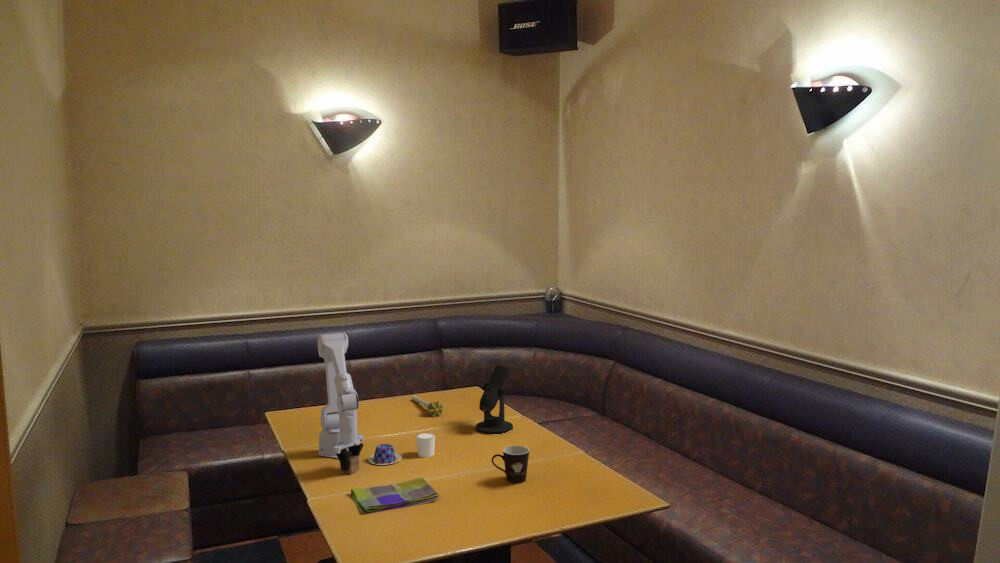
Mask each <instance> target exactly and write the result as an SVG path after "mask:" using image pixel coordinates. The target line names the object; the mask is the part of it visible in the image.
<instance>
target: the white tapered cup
mask: <svg viewBox="0 0 1000 563" xmlns="http://www.w3.org/2000/svg"><path fill="white" fill-rule="evenodd" d="M415 438H416V447H417V456H418V457H420V458H430V457H429V456H431V457H433V456H434V455H435V445H436V434H434V433H432V432H431V433H430V432H423V433H419V434H417V435H416V437H415ZM432 455H433V456H432Z"/></svg>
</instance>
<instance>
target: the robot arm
mask: <svg viewBox="0 0 1000 563" xmlns="http://www.w3.org/2000/svg"><path fill="white" fill-rule="evenodd" d="M348 348H349V336H348V335H347V333H346V332H338V333H326V334H319V335H318V336H317V352H318V356H319V358H322V359H323V361H324V364H325V365H324V366H325V376H326V378H325V379H326V393H327V394H326V395H327V403H326V404H325V406H324V407H322V408H321V409H320V410H321V411H320V426H321V431H320V432H319V433H318V434H319V435H318V451H319V452H318V453H317V456H322V457H327V458H333V459H338V460H339V465H340V464H341V467H342V470H345V471H348V469H349V459H350V455H356V456H359V457H360V454H361V452H362V450H363V447H364V443H362V442H364V440H365V438H364V434H362V433H361V434H358V414H357V412H358V411H357V410H358V409H359V406H360V402H359V399H360V398H359V395H358V392H357V391H356V389H355V388H354V384H353V380H352V375H351V374H350V373H349V372H347V364H346V356H345V355H346V353H347V350H348Z"/></svg>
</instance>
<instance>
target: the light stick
mask: <svg viewBox="0 0 1000 563" xmlns="http://www.w3.org/2000/svg"><path fill="white" fill-rule="evenodd" d="M411 400H412V401H414V402H417V403H418V404H421V405H422V406H424V407H425V408H426V409H427V412H428V413H429V415H430V417H432V418H435V417H440V416H442V413H443V411H444V407H443V405H442V404H441V401H439V400H438V401H431V402H429V401H425V399H422V398H420V397H418V396H417V395H415V394H414V395H412V396H411Z"/></svg>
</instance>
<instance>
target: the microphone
mask: <svg viewBox="0 0 1000 563" xmlns="http://www.w3.org/2000/svg"><path fill="white" fill-rule="evenodd" d="M510 374H511V371H510V369H509V368H508V367H506V366H504V365H501V364H498V365H496V366H495V367H494V369H493V370H492V373H491V375H490V377H489V379H488V382H486V383H484V384H483V386H482V390H483V393H482V394H481V397H480V400H479V408H478V409H479V410H480V411H481V412H483V420H482V421H480V422H478V423H476V424H475V431H476V430H477V431H478V433H479V432H480V433H479V434H482V433H484V434H483V435H487V434H501V435H503V434H502V433H506V432H508V431H510V430H512V429H513V430H514V424H513V423H511V422H509V421H507V420H505V393H506V388H505V386H506V383H507V381H508V379H509V377H510ZM498 402H499V404H498ZM497 404H498V405H499V410H498V416H497V415H493V414H492V413H491V412H492V411H494V409H495V407H497ZM513 430H512V431H513ZM477 431H476V432H477ZM506 434H507V433H506Z"/></svg>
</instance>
